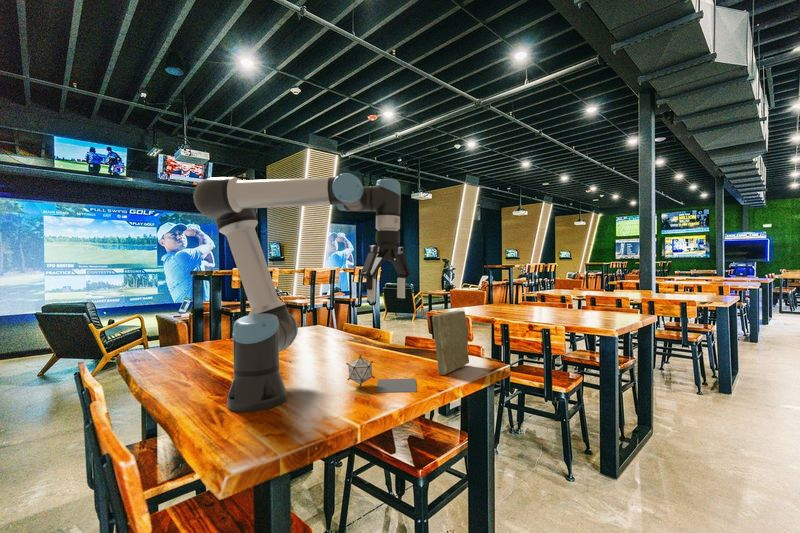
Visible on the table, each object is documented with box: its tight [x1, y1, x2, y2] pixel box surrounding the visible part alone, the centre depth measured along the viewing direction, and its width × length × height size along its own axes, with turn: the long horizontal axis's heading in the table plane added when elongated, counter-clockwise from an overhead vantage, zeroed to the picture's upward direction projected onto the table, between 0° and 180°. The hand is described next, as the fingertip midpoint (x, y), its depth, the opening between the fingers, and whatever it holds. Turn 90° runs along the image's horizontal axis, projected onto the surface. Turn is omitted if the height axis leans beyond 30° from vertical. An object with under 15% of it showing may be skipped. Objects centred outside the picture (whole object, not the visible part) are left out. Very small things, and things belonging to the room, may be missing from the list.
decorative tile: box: [431, 310, 470, 376], centre depth 130 cm, size 19×6×20 cm, turn 143°
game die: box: [346, 354, 376, 387], centre depth 112 cm, size 9×8×10 cm
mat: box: [375, 378, 418, 394], centre depth 112 cm, size 12×12×1 cm
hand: (386, 299), depth 113 cm, fingers open, 13 cm apart
